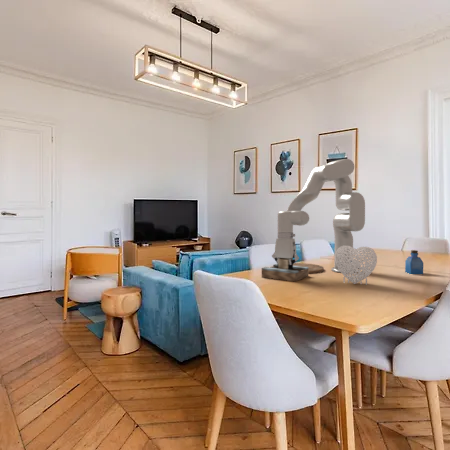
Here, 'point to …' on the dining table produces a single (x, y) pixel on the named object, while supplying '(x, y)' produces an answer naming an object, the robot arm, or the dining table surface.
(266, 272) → the crate
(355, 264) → the decorative heart
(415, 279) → the dining table surface
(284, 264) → the beech block
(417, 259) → the perfume bottle
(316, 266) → the trivet
